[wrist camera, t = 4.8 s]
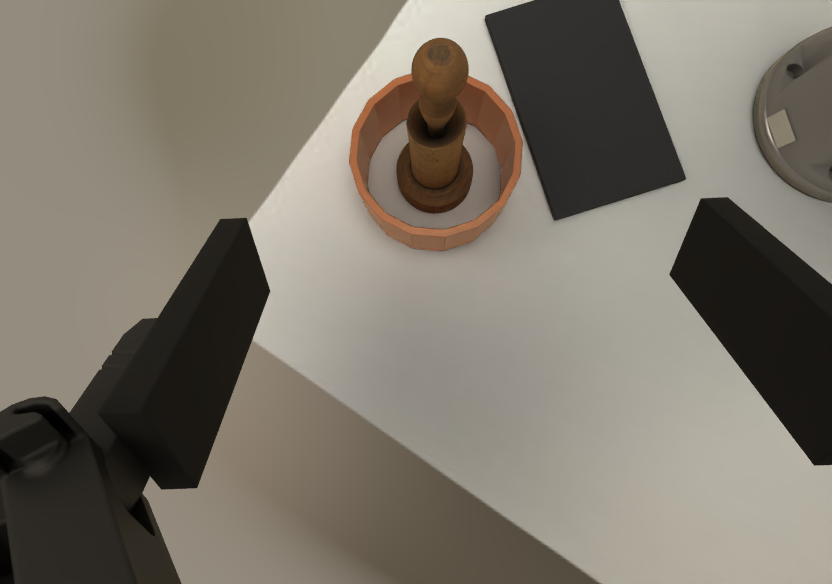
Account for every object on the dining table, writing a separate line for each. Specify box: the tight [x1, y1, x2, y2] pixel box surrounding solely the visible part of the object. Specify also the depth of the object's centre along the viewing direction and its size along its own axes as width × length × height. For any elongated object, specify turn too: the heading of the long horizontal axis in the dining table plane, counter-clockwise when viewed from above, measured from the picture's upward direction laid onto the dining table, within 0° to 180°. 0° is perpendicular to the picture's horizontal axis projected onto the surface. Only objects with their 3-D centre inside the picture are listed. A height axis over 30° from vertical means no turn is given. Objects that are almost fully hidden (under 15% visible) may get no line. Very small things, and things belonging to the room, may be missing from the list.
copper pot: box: [349, 74, 523, 251], centre depth 37 cm, size 13×13×6 cm
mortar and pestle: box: [397, 38, 473, 213], centre depth 31 cm, size 7×6×18 cm
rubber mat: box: [485, 0, 686, 220], centre depth 40 cm, size 12×20×1 cm, turn 17°
